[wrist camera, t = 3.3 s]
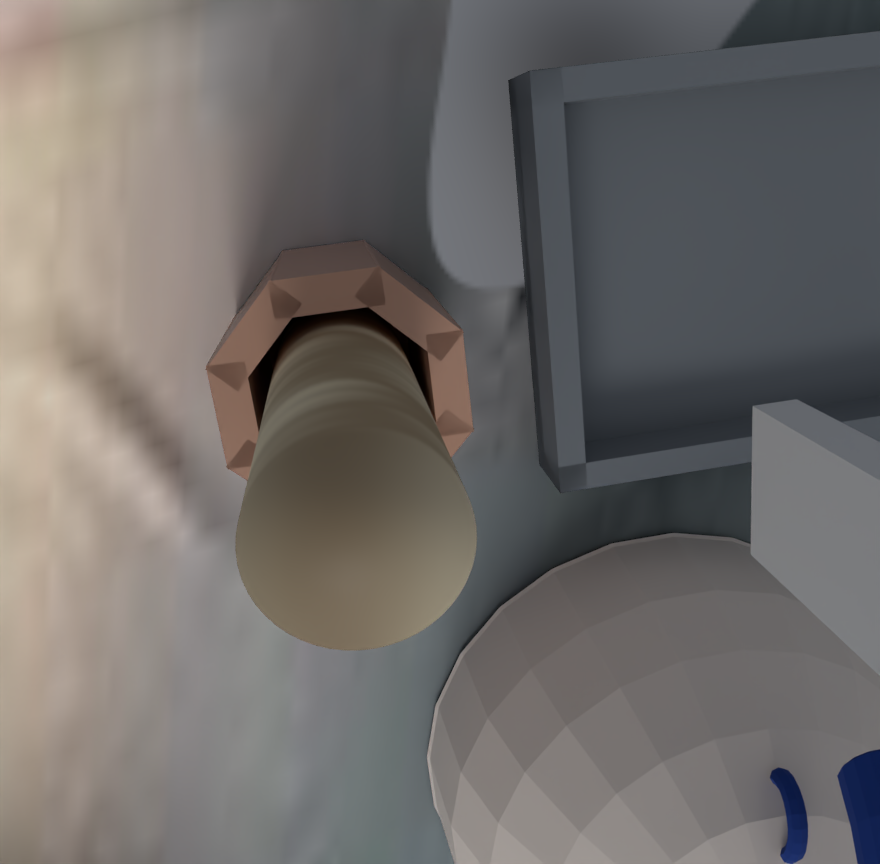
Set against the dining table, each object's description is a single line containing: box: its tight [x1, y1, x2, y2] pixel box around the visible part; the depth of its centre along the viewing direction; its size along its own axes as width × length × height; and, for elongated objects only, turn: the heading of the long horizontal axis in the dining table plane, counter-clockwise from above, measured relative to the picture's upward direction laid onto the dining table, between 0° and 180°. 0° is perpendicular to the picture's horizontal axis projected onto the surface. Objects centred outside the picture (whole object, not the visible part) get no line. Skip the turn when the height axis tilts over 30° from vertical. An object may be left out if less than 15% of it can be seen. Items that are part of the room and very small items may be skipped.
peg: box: [236, 307, 477, 650], centre depth 21 cm, size 4×4×16 cm
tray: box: [508, 31, 880, 493], centre depth 30 cm, size 22×14×3 cm, turn 96°
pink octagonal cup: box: [206, 240, 474, 481], centre depth 26 cm, size 7×7×8 cm
